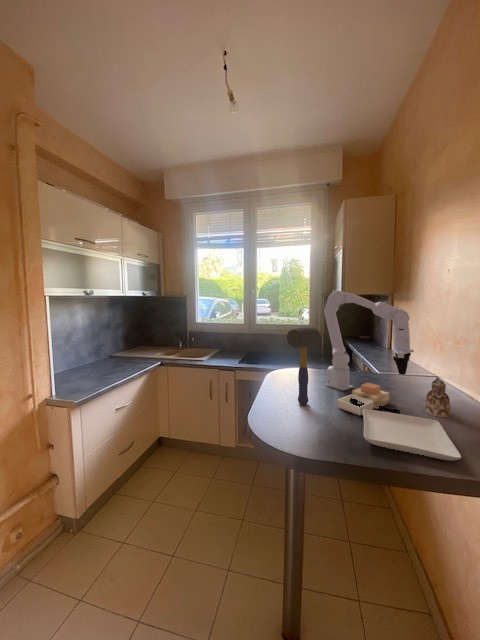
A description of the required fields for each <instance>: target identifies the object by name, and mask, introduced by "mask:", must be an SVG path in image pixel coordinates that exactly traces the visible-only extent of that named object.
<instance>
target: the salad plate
mask: <svg viewBox="0 0 480 640" xmlns="http://www.w3.org/2000/svg"><path fill="white" fill-rule="evenodd" d="M362 417H363V433H362V434H363V438H364V440H366V441H367V442H368V443H369V444H372V445H375V446H378V447H382V448H384V447H385V449H388V450H389V449H390V450H393V449H394V450H395V451H398V450H399V451H398V452H403V451H404V453H407V452H409V453H408V454H412V453H413V454H414V455H417V454H419V455H418V456H422V455H424V456H423V457H427V456H428V458H433V459H438V460H442V461H443V460H444V461H457V460H460V459H462V455H461V454H460V452H459V450H458V448H457V446H455V444H454V442H452V440H451V439H450V437H449V435H448V434H447V433H446V430H445V429H444V428H443V426H442V424H441V423H440V422H439V421H438V420H436V419H433V418H432V419H431V418H425V417H419V416H414V415H407V414H400V413H395V412H389V411H383V410H381V411H380V410H375V409H373V410H369V409H363V415H362Z"/></svg>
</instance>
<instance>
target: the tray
mask: <svg viewBox="0 0 480 640" xmlns="http://www.w3.org/2000/svg"><path fill="white" fill-rule="evenodd" d="M351 398H352V399H356V400H358V401H360V402H362V403H364V405H362V406H360V407H359V406H356V405H353V404H351V403H350V402H349V401H350V399H351ZM336 405H337V408H338V409H340V410H344V411H346V412H349V413H351V414H354V415H357V416H360V417H361V416H363V409H369V410H374V408H373V407H374V401H371V400H368V399H365V398H362V397H358V396H355V395H352V393H350V394H349V395H346V396H343V397H340V398H338V399H337V404H336Z"/></svg>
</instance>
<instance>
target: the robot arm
mask: <svg viewBox="0 0 480 640" xmlns="http://www.w3.org/2000/svg"><path fill="white" fill-rule="evenodd" d="M352 303H353V304H356V305H357V306H358V305H359V306H362V307H364V308H366V309H370V310H371V311H372V313H373V314H374V315H376V316H378V317H381V318H383V319H385V320H387V321H390V320H392V323H393V327H392V337H393V338H392V341H393V343H392V344H393V350H392V351H393V353H394V354H395V356H394V355H393V357H392V360H393V361H394V362H395V365H396V368H397V371H398V374H399V375H406V374H407V368H408V363H409V361H410V360H411V358H410V356H411V354H412V353H414V351H415V350H414V349H411V339H410V338H411V337H410V328H409V327H410V326H409V325H410V324H409V321H410V318H411V317H410V316H409V313H408V312H407V311H406V310H404V309H402V308H401V309H399V307H398V306H393V305H390V304H388V303H387V301H378V302H373V301H372V300H370V299H367V298H364V297H362V296H360V295H357V294H355V293H350V292H347V291H346V292H345V291H342V290H334V291H333V292H331V293H330V294H329V296H328V297H327V300H326V303H325V307H324V309H323V314H324V318H325V322H326V327H327V330H328V335H329V339H330V343H331V347H332V352H331V353H332V359H331V363H332V365H329V366H328V367H327V370H326V383H324V384H325V386H327V387H330V388H333V389H337V390H340V391H346V390H349V389H352V388H353V387H354V385H350V366H349V365H348V364H349V363H350V359H351V358H350V355H349V354H348V352H347V350H346V347H345V346H344V342H343V337H342V334H341V330H340V325H339V321H338V317H337V312H338V311H339V309H340V307H342V306H343V305H345V304H352Z"/></svg>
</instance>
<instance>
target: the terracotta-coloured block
mask: <svg viewBox="0 0 480 640" xmlns="http://www.w3.org/2000/svg"><path fill="white" fill-rule="evenodd" d="M360 387H361V391H362V392H365V393H368V394H372V395H375V394H377V393H379V392H380V390H381V385H380V384H379V385H378V384H375V383H370V382H365V383H363V384H361V385H360Z"/></svg>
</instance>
